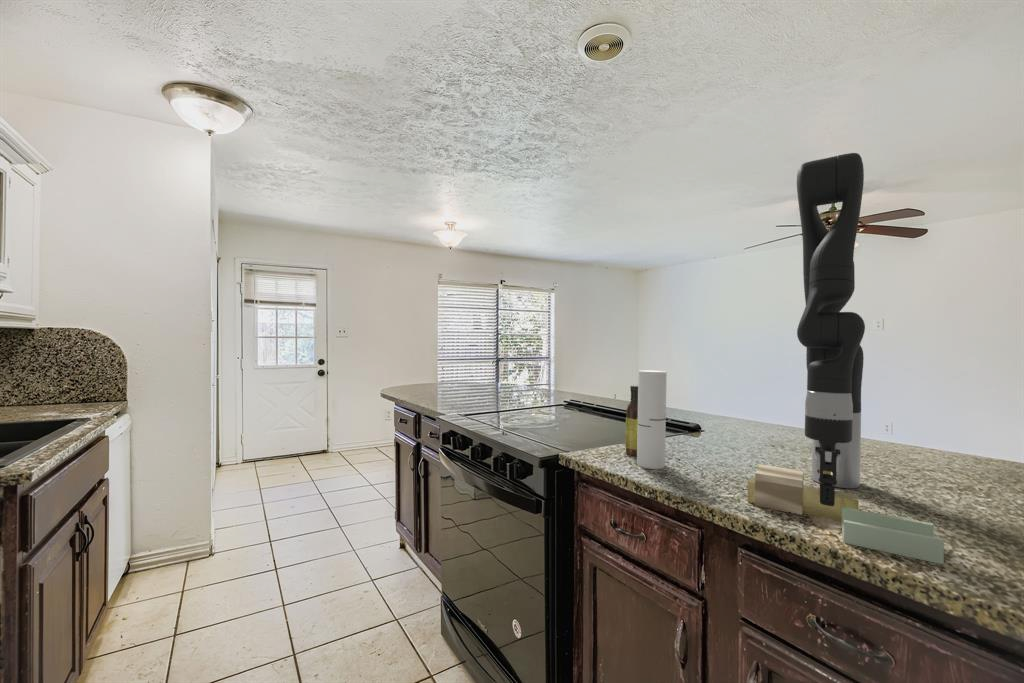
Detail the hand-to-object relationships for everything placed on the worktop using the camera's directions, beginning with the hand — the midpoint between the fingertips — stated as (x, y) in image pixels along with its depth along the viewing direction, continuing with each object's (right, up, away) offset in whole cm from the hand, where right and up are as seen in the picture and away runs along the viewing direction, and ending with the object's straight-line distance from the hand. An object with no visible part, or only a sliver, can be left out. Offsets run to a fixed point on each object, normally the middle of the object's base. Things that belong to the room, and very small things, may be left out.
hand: (826, 498), depth 86 cm
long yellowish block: (-4, -1, +2) cm, 4 cm away
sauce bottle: (-25, -3, +44) cm, 50 cm away
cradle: (+1, -3, -12) cm, 13 cm away
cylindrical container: (-24, -3, +32) cm, 40 cm away
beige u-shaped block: (-6, -3, +5) cm, 8 cm away
